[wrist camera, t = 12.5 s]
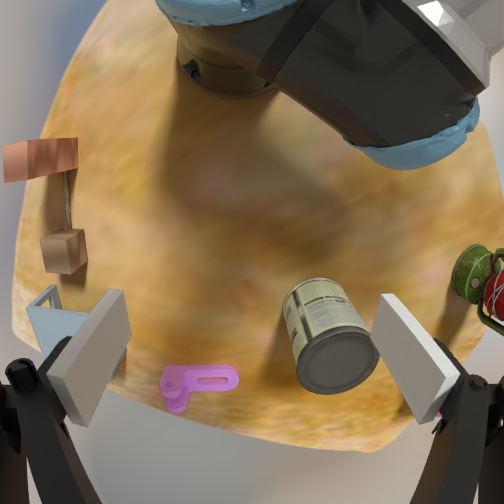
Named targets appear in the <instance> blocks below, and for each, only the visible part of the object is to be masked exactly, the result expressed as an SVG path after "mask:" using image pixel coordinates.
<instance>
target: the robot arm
mask: <svg viewBox="0 0 504 504" xmlns="http://www.w3.org/2000/svg"><path fill="white" fill-rule="evenodd" d="M155 1H156V4H157V6H158V7H159V9H160V11H162V12H163V14H164V15H166V16H167V18H168V20H169V21H170V23H171V24H172V26H173V27H174V29H175V30H176V32H177V34H178V35H179V36H178V40H177V55H178V59H179V62H180V65H181V67H182V69H183V70H184V72H185V73H186V75H187V76H188V77H189V78H190V80H191V81H192V82H193V83H194V84H195V85H197V86H198V87H199V88H201V89H202V90H204V91H206V92H208V93H210V94H213V95H216V96H219V97H224V98H232V99H240V98H248V97H253V96H257V95H259V94H262V93H264V92H266V91H268V90H270V89H272V88H273V87H275V88H277V89H278V90H280V91H281V92H283V93H284V94H286V95H287V96H289V97H290V98H292V99H293V100H295V101H296V102H298V103H299V104H301V105H302V106H303V107H305V108H306V109H308V110H309V111H310V112H312V113H313V114H315V115H316V116H317V117H319V118H320V119H321V120H323V121H324V122H325V123H327V124H328V125H329V126H331V127H332V128H333V129H335V130H336V131H337V132H338V133H340V134H341V135H342V136H343V139H344V140H345V141H346V142H347V143H348V144H350V145H351V146H353V147H355V148H357V149H359V150H361V151H362V152H364V153H365V154H366V155H368V156H369V157H370V158H371V159H373V160H374V161H375V162H376V163H378V164H380V165H382V166H385V167H388V168H390V169H395V170H413V169H418V168H422V167H425V166H428V165H430V164H433V163H435V162H437V161H439V160H441V159H443V158H445V157H446V156H448V155H450V154H451V153H452V152H454V151H455V150H456V149H457V148H459V147H460V146H461V145H462V144H463V143H464V142H465V141H466V140H467V136H466V133H468V132H472V131H473V130H474V129H475V127H476V125H477V123H478V120H479V114H480V107H479V103H478V98H477V95H478V94H479V93H481V92H482V91H483V90H484V89H486V88H487V87H488V86H489V83H490V62H491V58H492V56H494V55H495V54H496V53H498V52H499V51H500V50H501V49H503V48H504V0H155ZM131 335H132V333H131V328H130V323H129V318H128V313H127V307H126V302H125V296H124V290H120V289H110V290H109V291H108V292H107V293H106V295H105V296H104V297H103V298H102V300H101V301H100V302H99V303H98V305H97V306H96V307H95V308H94V310H93V311H92V312H91V313H90V315H89V316H88V317H87V319H86V320H85V321H84V322H83V324H82V325H81V326H80V328H79V329H78V330H77V332H76V333H75V334H74V336H73V337H72V336H66V337H65V338H63V339H62V340H60V341H59V342H58V343H57V345H56V346H55V347H54V349H53V350H52V351H51V353H50V354H49V356H48V357H47V358H46V359H45V361H44V362H43V363H42V365H41V366H40V367H39V369H38V370H36V368H35V366H34V364H33V362H32V361H31V360H30V359H26V358H21V359H17V360H14V361H13V362H11V363H10V364H9V365H8V366H7V368H6V371H5V374H6V376H7V378H8V380H9V382H10V384H11V385H2V383H1V381H0V504H30V503H29V493H28V481H27V459H28V463H29V466H30V469H31V473H32V476H33V479H34V482H35V485H36V488H37V491H38V494H39V497H40V499H41V502H42V504H102V503H101V501H100V499H99V497H98V495H97V493H96V491H95V490H94V488H93V486H92V484H91V482H90V480H89V478H88V476H87V474H86V472H85V470H84V468H83V465H82V463H81V461H80V459H79V456H78V454H77V452H76V450H75V447H74V445H73V442H72V440H71V437H70V435H69V432H68V429H67V427H66V424H65V423H64V421H63V420H64V418H65V416H66V414H67V416H68V417H69V419H70V421H71V422H72V423H73V424H77V425H80V426H84V427H88V425H89V423H90V420H91V419H92V416H93V414H94V412H95V410H96V407H97V405H98V403H99V401H100V398H101V396H102V394H103V392H104V390H105V388H106V386H107V384H108V381H109V379H110V377H111V375H112V373H113V371H114V369H115V367H116V365H117V363H118V361H119V359H120V357H121V355H122V353H123V351H124V349H125V347H126V345H127V343H128V341H129V339H130V337H131ZM370 338H371V340H372V342H373V343H374V345H375V347H376V348H377V350H378V352H379V354H380V355H381V357H382V359H383V361H384V362H385V364H386V366H387V368H388V369H389V371H390V373H391V375H392V376H393V378H394V380H395V382H396V383H397V385H398V387H399V389H400V391H401V393H402V394H403V396H404V398H405V400H406V402H407V404H408V405H409V407H410V409H411V411H412V413H413V415H414V417H415V419H416V421H417V422H418V424H419V425H420V424H423V423H427V422H430V421H433V420H434V418H435V416H436V415H437V413H438V412H440V414H441V416H442V418H441V419H440V421H439V422H438V424H437V425H436V427H435V428H434V430H433V431H432V434H434V432H435V431H436V434H435V437H434V440H433V444H432V447H431V450H430V453H429V456H428V459H427V462H426V464H425V467H424V470H423V473H422V476H421V478H420V480H419V483H418V485H417V488H416V490H415V492H414V495H413V497H412V499H411V502H410V504H473V500H474V497H475V493H476V489H477V485H478V488H479V489H478V504H504V376H503V377H502V378H501V380H500V382H499V383H498V384H488V383H487V382H486V380H485V379H484V378H482V377H481V376H478V375H473V374H472V375H469V374H468V373H467V372H466V370H465V369H464V368H463V366H462V365H461V364H460V363H459V362H458V360H457V359H456V358H455V357H454V355H453V354H452V353H451V352H449V349H448V348H447V347H446V346H445V345H444V344H443V343H442V342H440V341H439V340H437V339H436V338H434V339H432V338H431V336H430V335H429V334H428V333H427V332H426V331H425V329H424V328H423V327H422V326H421V325H420V323H419V322H418V321H417V320H416V319H415V318H414V316H413V315H412V314H411V313H410V312H409V311H408V310H407V308H406V307H405V306H404V305H403V304H402V303H401V302H400V301H399V299H398V298H397V297H396V296H395V295H394V294H381V296H380V300H379V304H378V308H377V312H376V316H375V320H374V324H373V327H372V331H371V335H370ZM502 419H503V426H501V423H500V422H501V420H502Z"/></svg>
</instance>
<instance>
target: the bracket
mask: <svg viewBox="0 0 504 504" xmlns="http://www.w3.org/2000/svg"><path fill="white" fill-rule="evenodd" d="M201 377H226V378H227V379H222V380H201V379H199V378H201ZM238 384H239V373H238V371H237V370H236V369H235V368H234V367H232V366H229V365H165V366H164V370H163V373H162V376H161V379H160V383H159V389H160V391H161V394H162V395H163V396H164V397H166V399H165V404H166V407H167V409H168V411H169V412H171V413H175V414H178V413H181V412H183V411H185V410H186V408H187V405H188V400H189V394H190V392H206V391H229V390H232V389H234V388H236V387H237V386H238ZM176 403H177V404H176Z"/></svg>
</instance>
